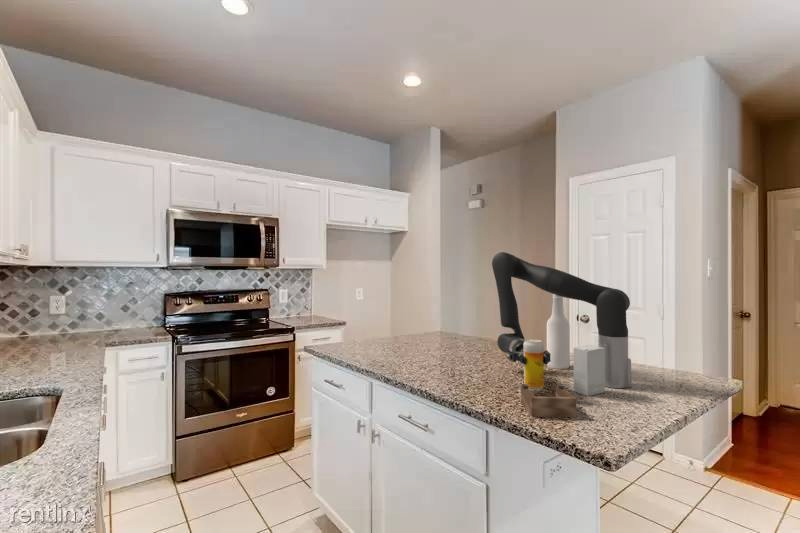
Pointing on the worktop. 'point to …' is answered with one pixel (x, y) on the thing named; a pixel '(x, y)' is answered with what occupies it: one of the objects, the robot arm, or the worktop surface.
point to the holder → (549, 403)
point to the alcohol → (558, 336)
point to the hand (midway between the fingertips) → (535, 361)
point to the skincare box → (589, 370)
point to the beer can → (534, 364)
